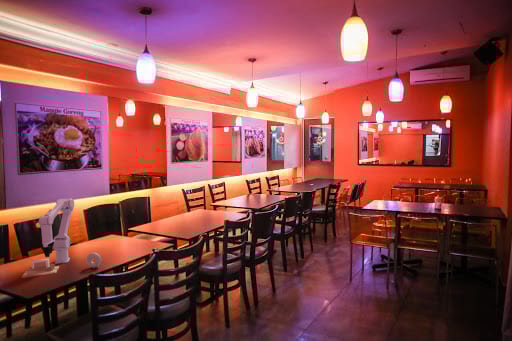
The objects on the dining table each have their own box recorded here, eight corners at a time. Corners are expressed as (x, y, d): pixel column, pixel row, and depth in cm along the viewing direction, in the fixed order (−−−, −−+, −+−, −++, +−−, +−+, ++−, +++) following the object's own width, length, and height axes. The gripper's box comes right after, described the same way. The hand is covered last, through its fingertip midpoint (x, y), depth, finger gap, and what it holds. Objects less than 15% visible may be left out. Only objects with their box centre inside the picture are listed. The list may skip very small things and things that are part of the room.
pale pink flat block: (33, 271, 216) (32, 260, 215) (49, 269, 219) (48, 258, 219) (32, 272, 214) (31, 261, 213) (48, 270, 217) (47, 259, 216)
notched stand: (27, 271, 219) (26, 266, 219) (59, 267, 225) (58, 261, 225) (21, 278, 208) (21, 272, 207) (55, 273, 214) (55, 267, 214)
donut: (102, 266, 223) (101, 251, 222) (99, 268, 219) (98, 253, 218) (88, 266, 224) (87, 251, 223) (85, 268, 220) (84, 253, 220)
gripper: (51, 236, 214) (53, 257, 215) (56, 231, 228) (57, 251, 229) (38, 237, 212) (40, 259, 213) (44, 232, 226) (45, 252, 227)
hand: (48, 255), depth 221 cm, fingers open, 7 cm apart
